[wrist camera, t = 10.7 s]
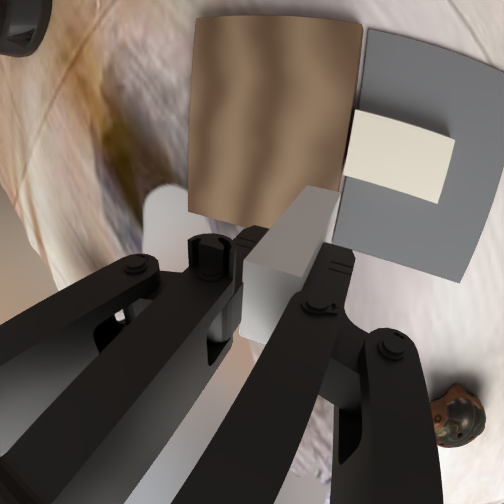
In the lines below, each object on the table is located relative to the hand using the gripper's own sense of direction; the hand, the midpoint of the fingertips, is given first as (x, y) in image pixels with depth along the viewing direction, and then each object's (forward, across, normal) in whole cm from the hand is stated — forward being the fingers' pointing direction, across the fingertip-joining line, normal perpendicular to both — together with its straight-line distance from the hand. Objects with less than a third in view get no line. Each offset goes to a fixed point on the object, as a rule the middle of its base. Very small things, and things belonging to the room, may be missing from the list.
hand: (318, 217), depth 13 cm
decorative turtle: (+17, +25, -30) cm, 42 cm away
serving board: (+17, -9, +1) cm, 19 cm away
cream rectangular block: (+17, +4, +1) cm, 17 cm away
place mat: (+17, +7, +1) cm, 18 cm away
